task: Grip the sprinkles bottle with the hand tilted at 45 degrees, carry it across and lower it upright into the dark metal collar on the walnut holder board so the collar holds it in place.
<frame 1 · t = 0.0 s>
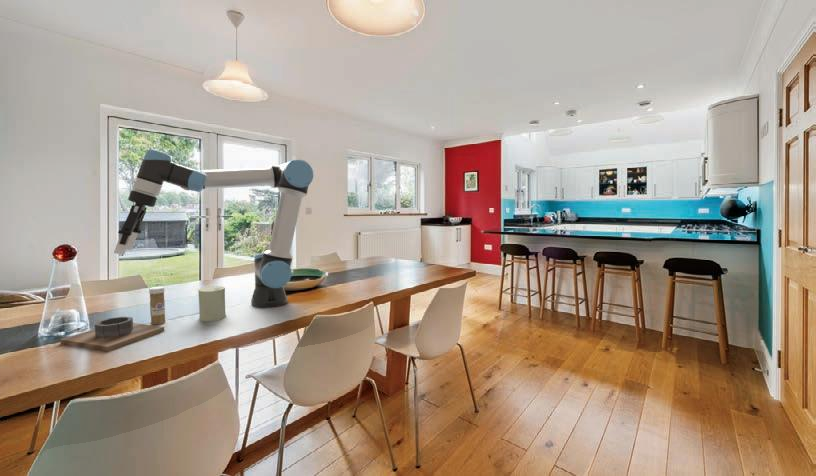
hand: (123, 251, 117), 28 cm above the table, tool tilted 20°, fingers open, 13 cm apart
can: (212, 318, 135), on the table
bottle holder: (115, 337, 114), on the table
sprinkles bottle: (158, 323, 128), on the table
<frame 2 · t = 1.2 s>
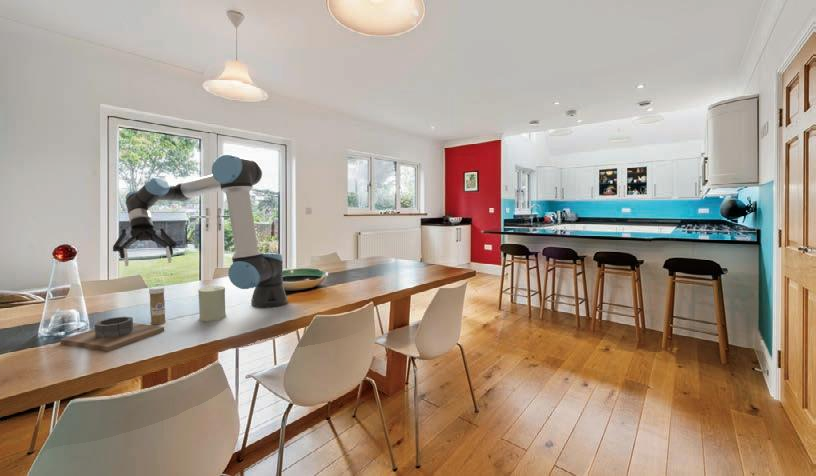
hand: (149, 262, 134), 22 cm above the table, tool tilted 45°, fingers open, 13 cm apart
nothing on the table moved.
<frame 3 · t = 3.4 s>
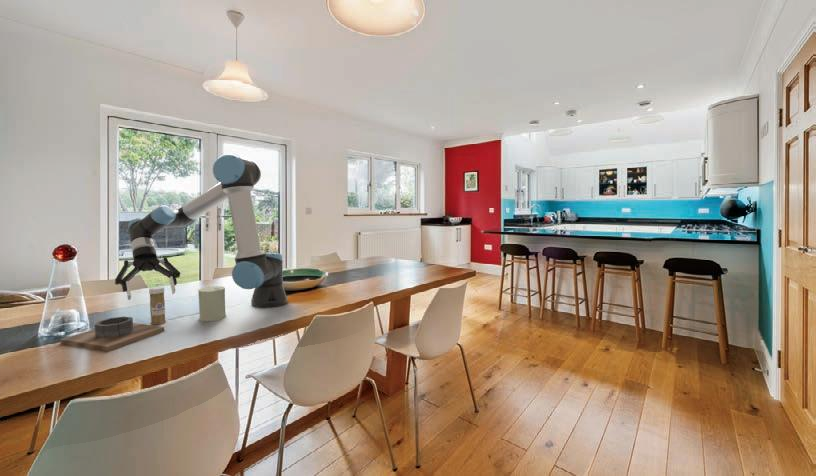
hand: (152, 294, 129), 10 cm above the table, tool tilted 45°, fingers open, 13 cm apart
nothing on the table moved.
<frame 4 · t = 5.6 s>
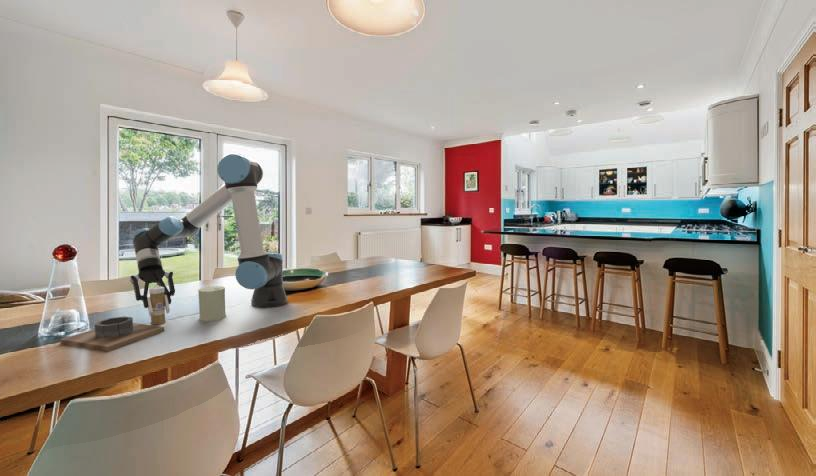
hand: (159, 312, 125), 5 cm above the table, tool tilted 45°, fingers closed on sprinkles bottle, 4 cm apart
sprinkles bottle: (158, 323, 128), on the table, touching gripper
everything else where it was.
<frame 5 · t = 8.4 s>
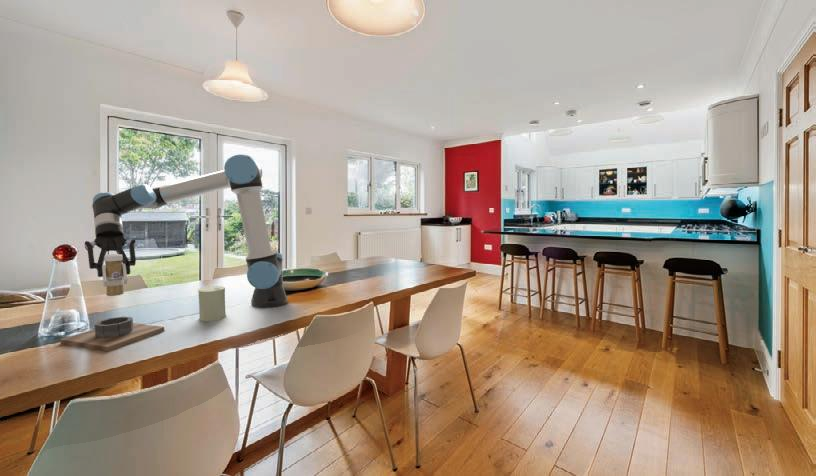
hand: (115, 282, 111), 19 cm above the table, tool tilted 45°, fingers closed on sprinkles bottle, 4 cm apart
sprinkles bottle: (115, 295, 114), point 14 cm above the table, touching gripper
everything else where it was.
when the fingers open (8 cm above the table, at t = 11.3 s): sprinkles bottle drops 1 cm, resting on bottle holder.
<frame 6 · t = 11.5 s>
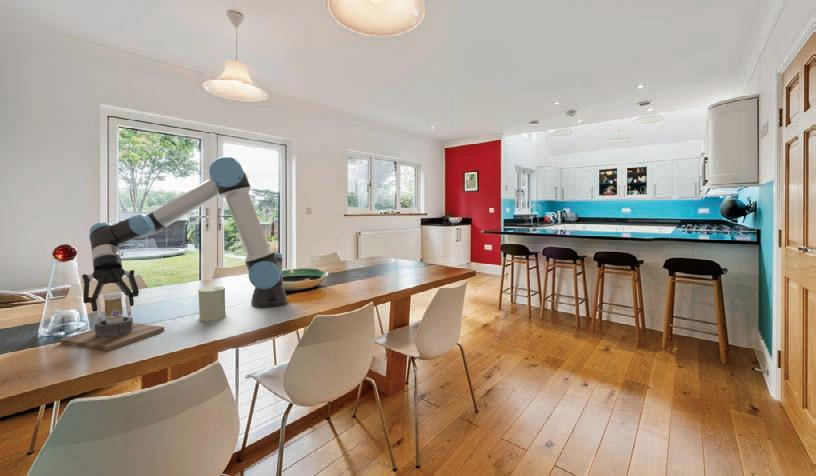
hand: (115, 316, 111), 8 cm above the table, tool tilted 45°, fingers open, 7 cm apart
sprinkles bottle: (115, 333, 114), point 1 cm above the table, touching bottle holder
everything else where it was.
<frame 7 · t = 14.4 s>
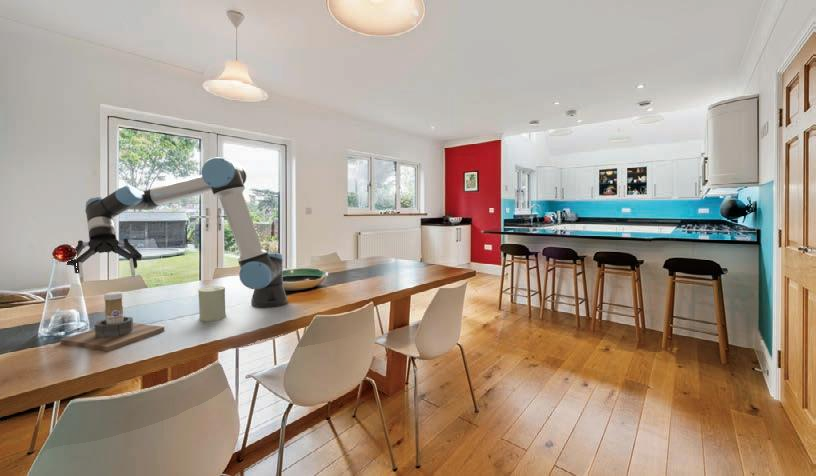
hand: (108, 277, 119), 19 cm above the table, tool tilted 45°, fingers open, 13 cm apart
nothing on the table moved.
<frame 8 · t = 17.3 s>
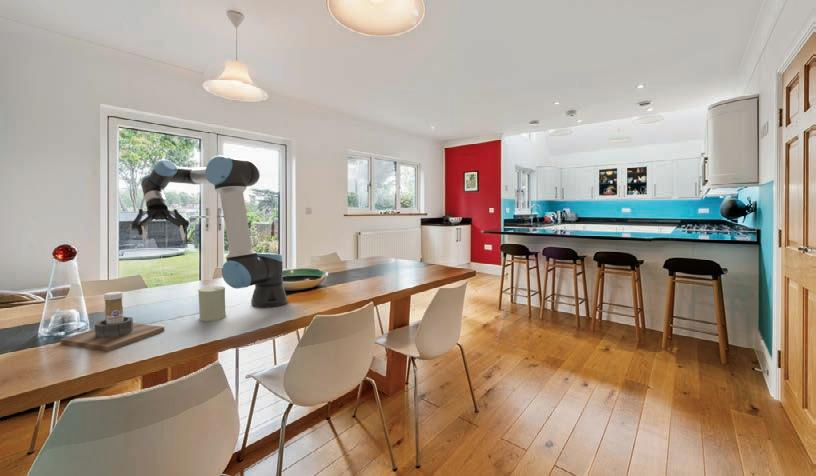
hand: (165, 239, 144), 30 cm above the table, tool tilted 45°, fingers open, 13 cm apart
nothing on the table moved.
at the end: sprinkles bottle 0.2 cm off-centre on the bottle holder, point 1.3 cm above the bottle holder's base; sprinkles bottle tilted 0°; the gripper is holding nothing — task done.
